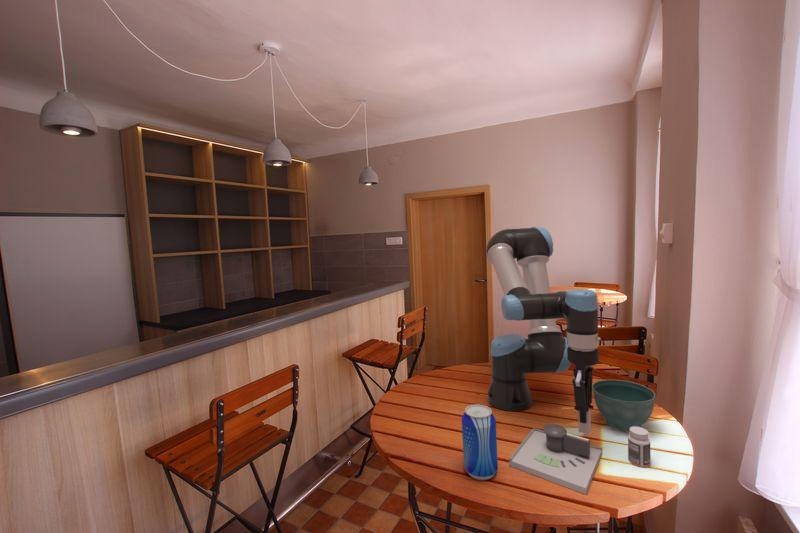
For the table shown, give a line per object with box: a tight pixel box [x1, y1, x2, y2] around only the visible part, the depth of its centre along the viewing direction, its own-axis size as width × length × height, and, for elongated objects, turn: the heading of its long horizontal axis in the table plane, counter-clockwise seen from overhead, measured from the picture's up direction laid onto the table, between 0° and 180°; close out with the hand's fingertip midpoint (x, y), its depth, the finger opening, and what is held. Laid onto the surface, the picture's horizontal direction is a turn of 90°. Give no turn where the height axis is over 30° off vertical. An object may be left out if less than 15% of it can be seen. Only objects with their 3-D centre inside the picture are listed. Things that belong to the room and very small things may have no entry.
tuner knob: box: [543, 423, 591, 457], centre depth 94 cm, size 11×6×5 cm, turn 50°
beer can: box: [461, 403, 499, 481], centre depth 90 cm, size 8×8×16 cm
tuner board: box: [508, 427, 603, 495], centre depth 93 cm, size 18×18×2 cm
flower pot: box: [592, 379, 656, 433], centre depth 108 cm, size 16×16×11 cm
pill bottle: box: [627, 426, 652, 468], centre depth 90 cm, size 5×5×8 cm
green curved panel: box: [534, 453, 590, 468], centre depth 91 cm, size 11×9×1 cm
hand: (584, 432), depth 97 cm, fingers closed
